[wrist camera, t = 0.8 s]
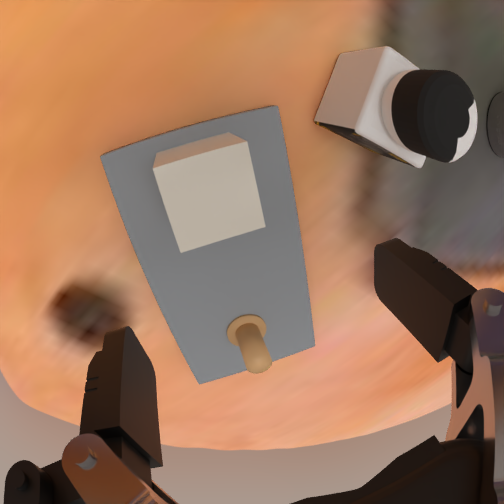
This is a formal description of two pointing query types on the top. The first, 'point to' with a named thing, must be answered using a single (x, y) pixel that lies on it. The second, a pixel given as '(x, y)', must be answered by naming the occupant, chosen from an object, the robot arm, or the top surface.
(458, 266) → the top surface
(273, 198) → the board
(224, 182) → the beige cube block
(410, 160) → the medicine bottle
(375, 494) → the robot arm
